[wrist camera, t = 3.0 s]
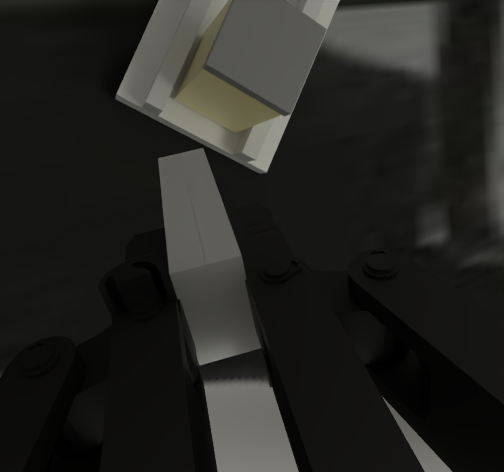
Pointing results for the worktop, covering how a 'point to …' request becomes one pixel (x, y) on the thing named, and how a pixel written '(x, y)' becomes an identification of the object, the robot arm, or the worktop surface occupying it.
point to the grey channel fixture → (175, 66)
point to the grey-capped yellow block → (251, 63)
